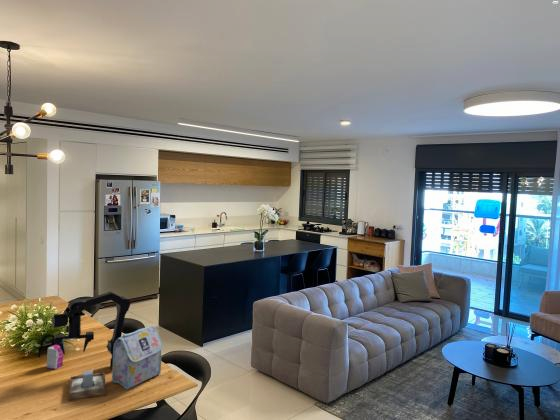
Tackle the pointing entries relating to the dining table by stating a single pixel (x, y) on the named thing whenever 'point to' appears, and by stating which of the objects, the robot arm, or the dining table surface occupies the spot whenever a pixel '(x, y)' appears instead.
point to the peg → (87, 378)
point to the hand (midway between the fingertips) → (74, 353)
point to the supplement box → (54, 357)
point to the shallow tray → (88, 392)
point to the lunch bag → (136, 357)
